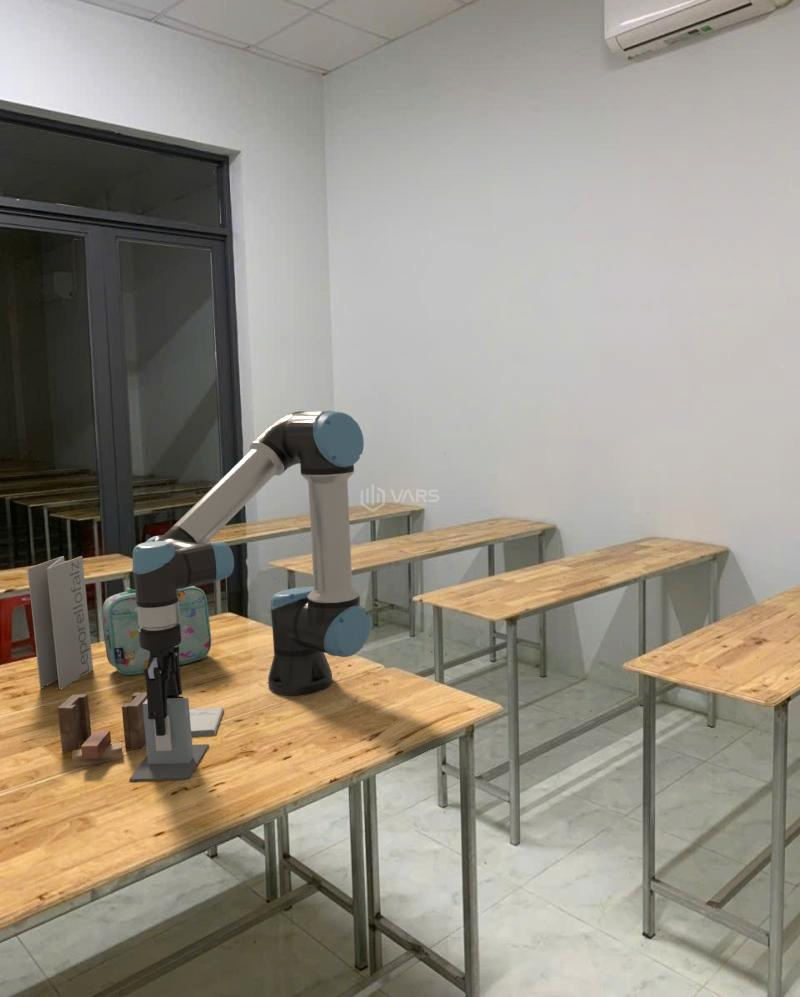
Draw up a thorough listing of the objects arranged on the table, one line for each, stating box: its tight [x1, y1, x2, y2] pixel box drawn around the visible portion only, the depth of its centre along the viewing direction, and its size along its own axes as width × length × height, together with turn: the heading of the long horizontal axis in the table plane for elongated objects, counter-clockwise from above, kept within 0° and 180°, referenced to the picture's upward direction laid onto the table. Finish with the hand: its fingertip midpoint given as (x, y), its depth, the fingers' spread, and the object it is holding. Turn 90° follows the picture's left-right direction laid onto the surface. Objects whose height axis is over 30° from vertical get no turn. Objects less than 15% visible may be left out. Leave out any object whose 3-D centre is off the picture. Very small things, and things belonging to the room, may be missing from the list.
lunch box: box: [101, 586, 212, 676], centre depth 212 cm, size 27×10×21 cm, turn 120°
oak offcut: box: [71, 741, 124, 768], centre depth 160 cm, size 9×3×2 cm, turn 110°
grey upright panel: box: [143, 697, 193, 764], centre depth 156 cm, size 8×2×12 cm, turn 88°
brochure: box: [27, 555, 94, 690], centre depth 204 cm, size 14×6×30 cm, turn 168°
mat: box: [128, 743, 210, 782], centre depth 157 cm, size 11×14×1 cm
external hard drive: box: [189, 706, 224, 737], centre depth 175 cm, size 2×8×12 cm
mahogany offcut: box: [80, 729, 112, 759], centre depth 159 cm, size 7×3×2 cm, turn 0°
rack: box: [57, 692, 147, 752], centre depth 167 cm, size 16×8×9 cm, turn 88°
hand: (169, 742), depth 157 cm, fingers open, 5 cm apart
